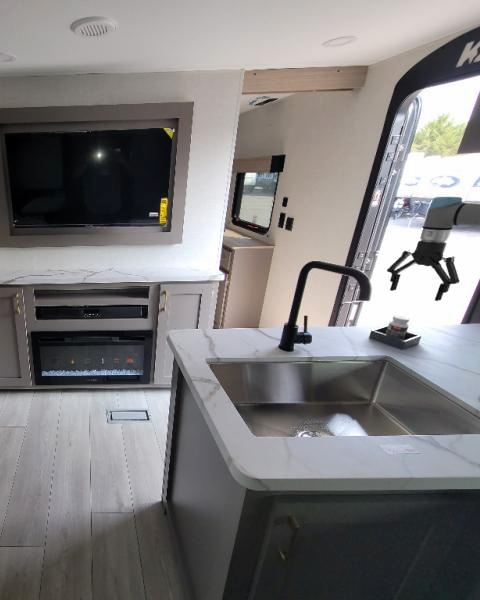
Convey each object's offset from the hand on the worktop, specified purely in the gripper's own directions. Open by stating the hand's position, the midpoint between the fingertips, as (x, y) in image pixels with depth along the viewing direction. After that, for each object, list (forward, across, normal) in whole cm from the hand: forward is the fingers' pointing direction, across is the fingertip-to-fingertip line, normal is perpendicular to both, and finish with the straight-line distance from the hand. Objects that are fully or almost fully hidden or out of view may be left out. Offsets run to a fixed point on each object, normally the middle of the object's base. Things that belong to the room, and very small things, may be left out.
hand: (414, 295), depth 127 cm
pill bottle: (+20, -1, -2) cm, 20 cm away
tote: (+20, -1, -2) cm, 20 cm away
